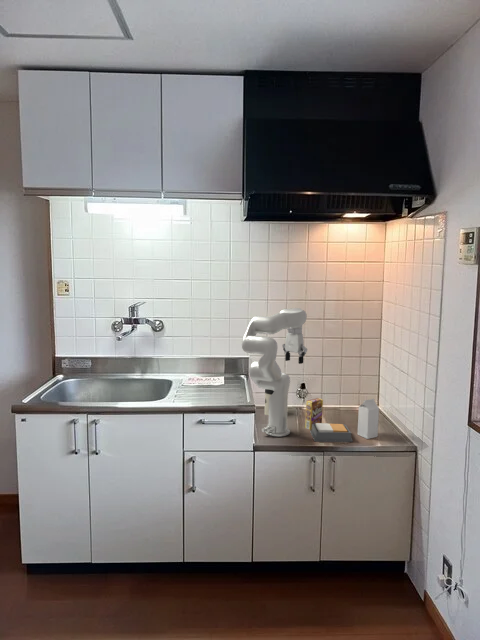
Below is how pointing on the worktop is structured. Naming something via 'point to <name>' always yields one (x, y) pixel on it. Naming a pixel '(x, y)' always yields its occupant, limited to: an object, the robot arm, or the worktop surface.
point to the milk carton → (368, 419)
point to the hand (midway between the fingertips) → (294, 362)
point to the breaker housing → (330, 435)
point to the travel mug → (267, 400)
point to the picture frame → (330, 427)
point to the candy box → (313, 412)
